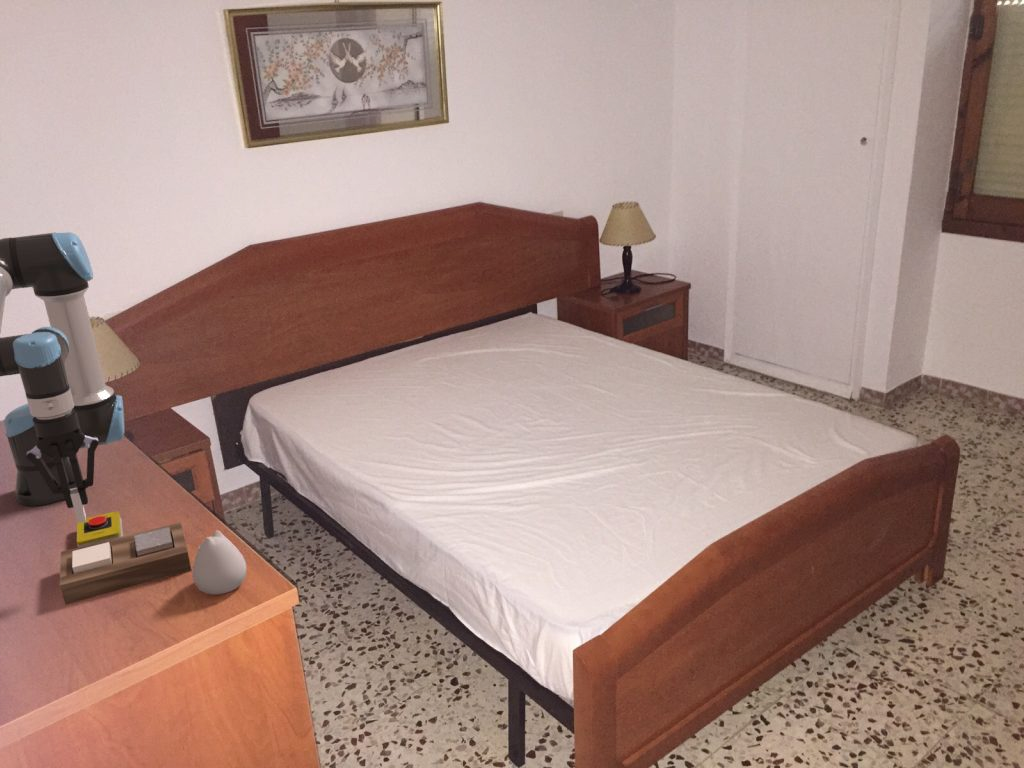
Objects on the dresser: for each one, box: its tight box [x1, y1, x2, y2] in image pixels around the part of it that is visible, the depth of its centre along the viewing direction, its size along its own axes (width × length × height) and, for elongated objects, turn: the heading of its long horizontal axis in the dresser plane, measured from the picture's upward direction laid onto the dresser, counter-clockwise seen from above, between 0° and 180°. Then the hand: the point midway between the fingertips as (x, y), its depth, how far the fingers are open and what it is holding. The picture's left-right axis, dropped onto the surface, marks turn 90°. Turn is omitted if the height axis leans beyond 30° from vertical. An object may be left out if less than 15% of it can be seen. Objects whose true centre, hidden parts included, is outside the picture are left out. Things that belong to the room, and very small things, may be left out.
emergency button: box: [76, 511, 124, 548], centre depth 189 cm, size 9×4×15 cm
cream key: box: [72, 542, 113, 574], centre depth 172 cm, size 7×7×3 cm
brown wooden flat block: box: [59, 521, 192, 605], centre depth 175 cm, size 14×24×4 cm, turn 116°
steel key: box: [135, 527, 174, 557], centre depth 177 cm, size 7×7×3 cm
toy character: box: [192, 529, 248, 596], centre depth 167 cm, size 10×10×12 cm
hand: (81, 519), depth 168 cm, fingers closed
